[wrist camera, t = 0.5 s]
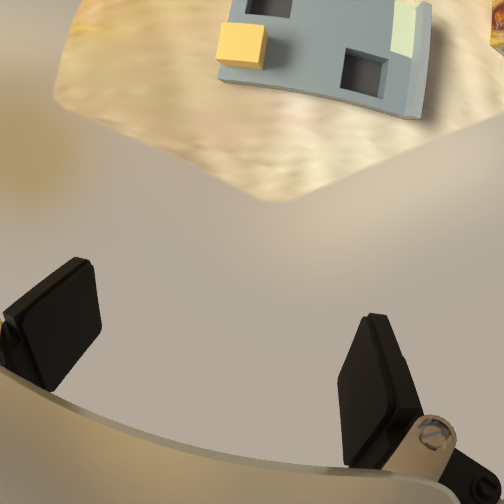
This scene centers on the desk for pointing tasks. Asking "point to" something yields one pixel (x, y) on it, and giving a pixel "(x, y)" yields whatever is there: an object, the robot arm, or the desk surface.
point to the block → (242, 45)
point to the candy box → (497, 25)
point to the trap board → (341, 51)
